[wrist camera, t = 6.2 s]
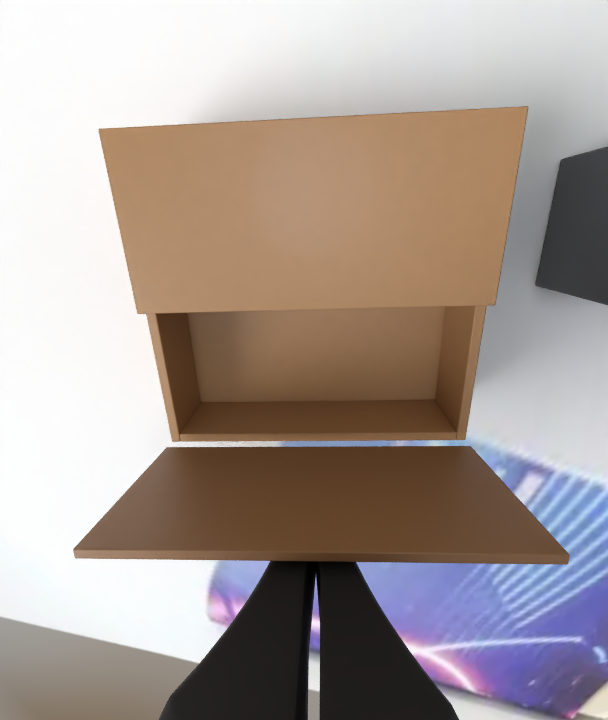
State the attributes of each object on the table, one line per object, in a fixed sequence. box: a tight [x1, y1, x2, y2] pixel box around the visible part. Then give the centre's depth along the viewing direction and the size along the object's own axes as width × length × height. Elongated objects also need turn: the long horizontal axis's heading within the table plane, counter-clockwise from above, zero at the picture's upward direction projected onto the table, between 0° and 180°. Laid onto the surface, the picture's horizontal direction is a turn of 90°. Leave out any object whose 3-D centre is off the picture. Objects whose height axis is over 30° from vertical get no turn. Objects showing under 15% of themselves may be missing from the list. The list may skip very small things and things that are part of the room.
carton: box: [99, 106, 528, 442], centre depth 14 cm, size 12×13×4 cm
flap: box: [73, 446, 569, 564], centre depth 12 cm, size 6×13×1 cm
